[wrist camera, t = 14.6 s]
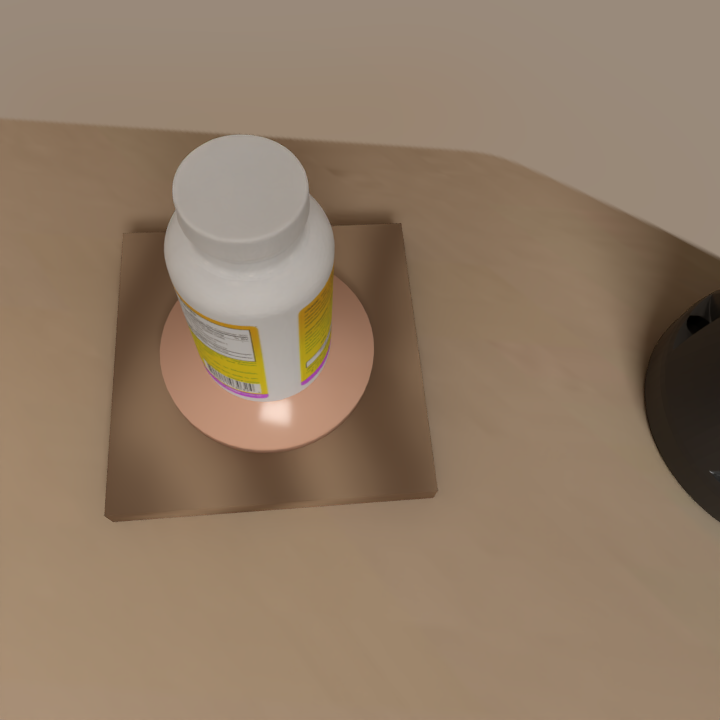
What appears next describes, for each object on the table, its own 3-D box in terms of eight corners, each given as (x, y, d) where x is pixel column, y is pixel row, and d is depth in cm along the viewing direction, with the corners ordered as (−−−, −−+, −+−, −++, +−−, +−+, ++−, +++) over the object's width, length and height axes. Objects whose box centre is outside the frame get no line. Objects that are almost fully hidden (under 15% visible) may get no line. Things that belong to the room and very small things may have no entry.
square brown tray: (398, 237, 41) (401, 223, 40) (432, 497, 34) (437, 490, 33) (129, 248, 39) (122, 233, 38) (112, 521, 33) (104, 515, 32)
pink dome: (362, 260, 38) (364, 251, 37) (382, 445, 34) (384, 439, 33) (166, 269, 37) (162, 259, 36) (160, 460, 33) (155, 455, 32)
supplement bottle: (310, 278, 36) (310, 96, 25) (346, 386, 34) (364, 241, 22) (188, 306, 35) (127, 129, 24) (215, 421, 33) (162, 287, 21)
